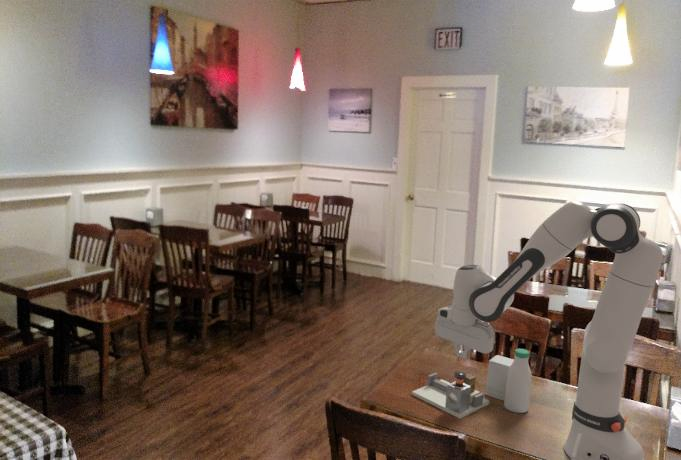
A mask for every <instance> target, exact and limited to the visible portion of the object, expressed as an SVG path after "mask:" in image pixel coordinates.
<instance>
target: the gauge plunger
mask: <svg viewBox="0 0 681 460" xmlns="http://www.w3.org/2000/svg"><path fill="white" fill-rule="evenodd" d="M466 374H467V373H465V372H464V371H459V370H458V371H455V372H454V373H453V375H454V378H455V381H456V384H455V387H457V388H459V389H461V388H463V381H464V379H465V378H466Z"/></svg>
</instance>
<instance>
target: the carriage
mask: <svg viewBox="0 0 681 460" xmlns="http://www.w3.org/2000/svg"><path fill="white" fill-rule="evenodd" d="M465 374H466V378H465V379H464V381H463V383H465V384H467V385H469V386H471V394H470V405H472V403H473V398H474V396H475V395H478V394H480V393H481V392H480V391H478V390H476V388H475V387H476V375H472V374H470V373H465Z"/></svg>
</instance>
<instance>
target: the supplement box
mask: <svg viewBox="0 0 681 460" xmlns="http://www.w3.org/2000/svg"><path fill="white" fill-rule="evenodd" d="M514 359H515V358H509V357H506V356H502V355H498V354H496V355H494V356H493V357H491V358H490V359H489V360H488V364H487V365H488V366H487V376H486V387H485V395H486V396H488V397H492V398H495V399H497V400H501V401H503V402H504V400H505V391H506V382H507V374H508V370H509V368H510V366H511V365H512V363H513V361H514Z"/></svg>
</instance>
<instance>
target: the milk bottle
mask: <svg viewBox="0 0 681 460" xmlns="http://www.w3.org/2000/svg"><path fill="white" fill-rule="evenodd" d="M513 356H514V358H513V359H514V361H513V363H512V365H511V366H510V368H509V370H508V374H507V382H506V391H505V400H504V401H503V402H504V404H503V405H504V408H505V409H506V410H508V411H510V412H512V413H516V414H524V413H527V412H528V411H529V408H530V407H529V406H530V398H531V390H532V379H533V376H532V371H531V367H530V365H529V359H530V351H529V350H528V349H525V348H516V349H515V350H514V355H513Z"/></svg>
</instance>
